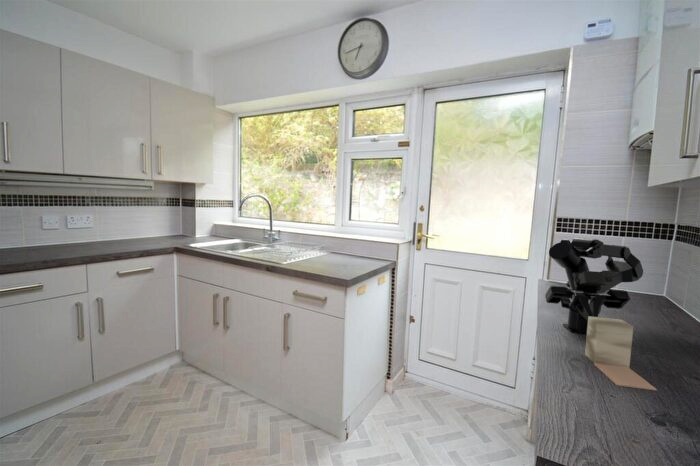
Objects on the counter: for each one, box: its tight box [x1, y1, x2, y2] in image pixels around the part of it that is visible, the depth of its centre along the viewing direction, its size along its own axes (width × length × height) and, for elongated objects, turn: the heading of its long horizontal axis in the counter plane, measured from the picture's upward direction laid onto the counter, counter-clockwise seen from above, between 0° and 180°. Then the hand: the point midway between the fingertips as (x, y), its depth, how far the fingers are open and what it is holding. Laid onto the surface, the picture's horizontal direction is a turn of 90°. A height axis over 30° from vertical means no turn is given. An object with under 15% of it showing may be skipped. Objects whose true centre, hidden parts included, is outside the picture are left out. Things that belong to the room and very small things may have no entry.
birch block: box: [584, 316, 634, 368], centre depth 78 cm, size 5×7×10 cm
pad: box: [593, 362, 658, 392], centre depth 71 cm, size 10×7×1 cm
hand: (594, 325), depth 84 cm, fingers closed
